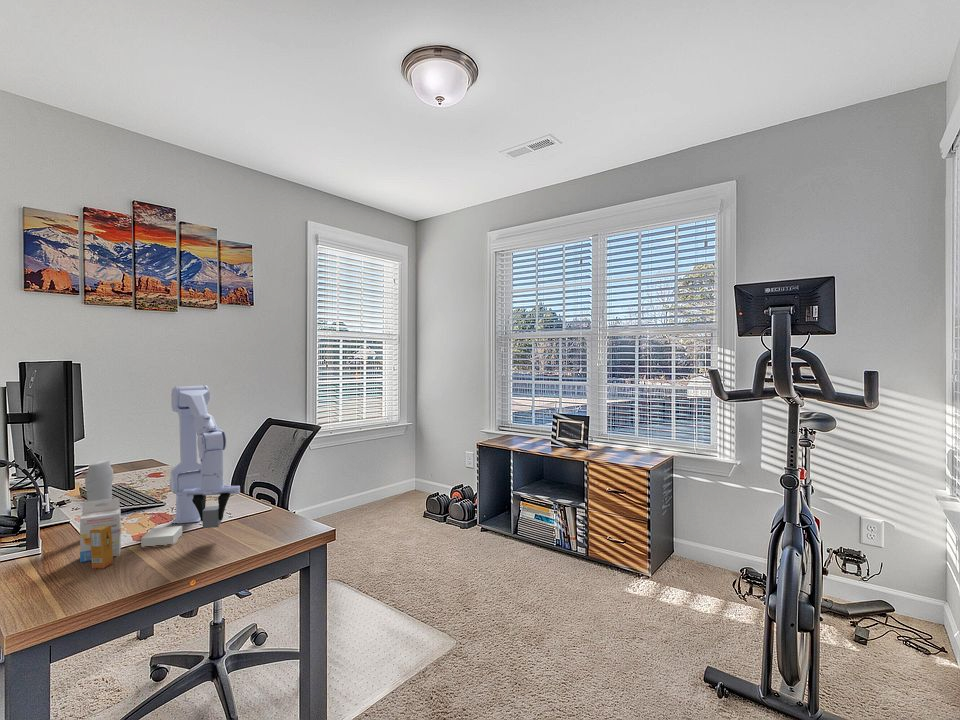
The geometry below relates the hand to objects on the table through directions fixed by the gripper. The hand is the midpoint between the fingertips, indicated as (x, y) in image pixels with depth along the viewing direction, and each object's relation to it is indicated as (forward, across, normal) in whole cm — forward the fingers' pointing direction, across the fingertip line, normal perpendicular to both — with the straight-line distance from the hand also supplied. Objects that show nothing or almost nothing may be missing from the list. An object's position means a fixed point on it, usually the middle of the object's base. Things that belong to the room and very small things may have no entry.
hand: (212, 519), depth 142 cm
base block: (+7, -14, +4) cm, 16 cm away
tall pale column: (+6, -34, +15) cm, 38 cm away
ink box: (+6, -26, -4) cm, 27 cm away
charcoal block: (+2, 0, 0) cm, 2 cm away
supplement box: (+6, -23, -11) cm, 26 cm away
